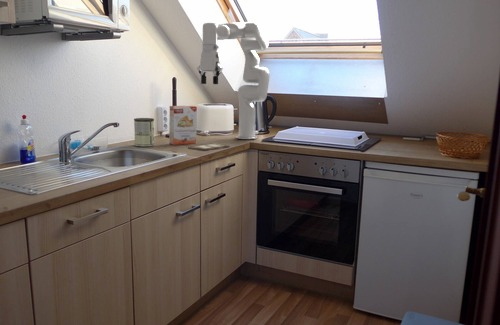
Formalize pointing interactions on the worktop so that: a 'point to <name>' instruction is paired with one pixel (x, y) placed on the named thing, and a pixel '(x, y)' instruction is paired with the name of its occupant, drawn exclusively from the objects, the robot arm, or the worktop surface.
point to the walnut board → (208, 147)
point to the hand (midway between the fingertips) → (209, 83)
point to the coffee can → (144, 131)
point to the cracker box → (182, 125)
